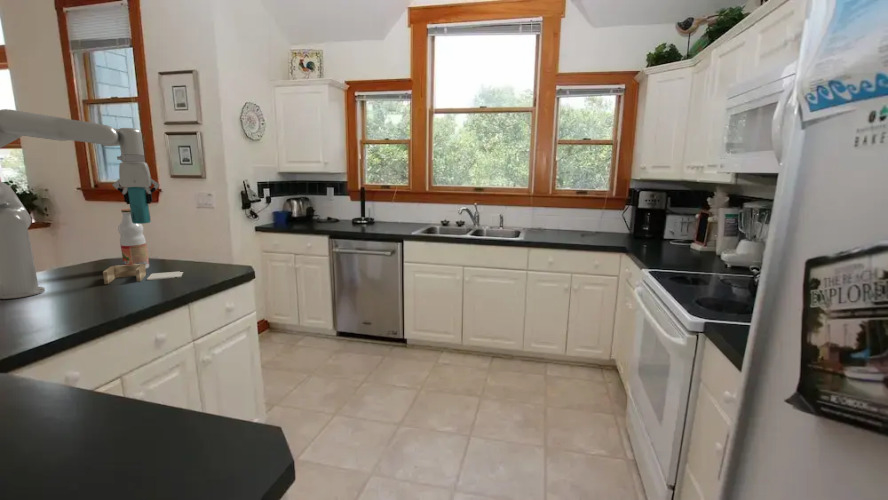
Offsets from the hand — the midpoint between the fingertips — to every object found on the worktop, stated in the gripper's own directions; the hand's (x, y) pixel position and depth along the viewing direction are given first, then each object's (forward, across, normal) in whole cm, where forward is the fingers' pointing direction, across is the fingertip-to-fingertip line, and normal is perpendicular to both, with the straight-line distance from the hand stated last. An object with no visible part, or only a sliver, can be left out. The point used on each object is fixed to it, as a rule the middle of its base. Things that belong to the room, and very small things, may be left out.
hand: (139, 203), depth 167 cm
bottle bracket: (+32, -8, 0) cm, 33 cm away
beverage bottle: (+10, 0, 0) cm, 10 cm away
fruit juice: (+32, -8, +20) cm, 38 cm away
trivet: (+32, +6, 0) cm, 32 cm away
